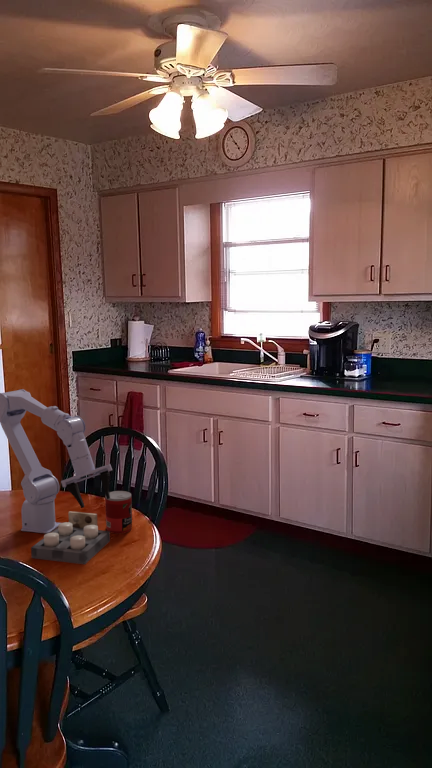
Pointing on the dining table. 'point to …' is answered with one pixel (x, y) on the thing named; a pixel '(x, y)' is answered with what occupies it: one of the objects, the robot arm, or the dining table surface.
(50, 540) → the button near left
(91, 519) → the pattern plaque
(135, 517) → the dining table surface
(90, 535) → the button far right
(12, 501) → the dining table surface
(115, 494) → the canned food
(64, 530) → the button far left
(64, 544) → the button board
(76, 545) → the button near right
